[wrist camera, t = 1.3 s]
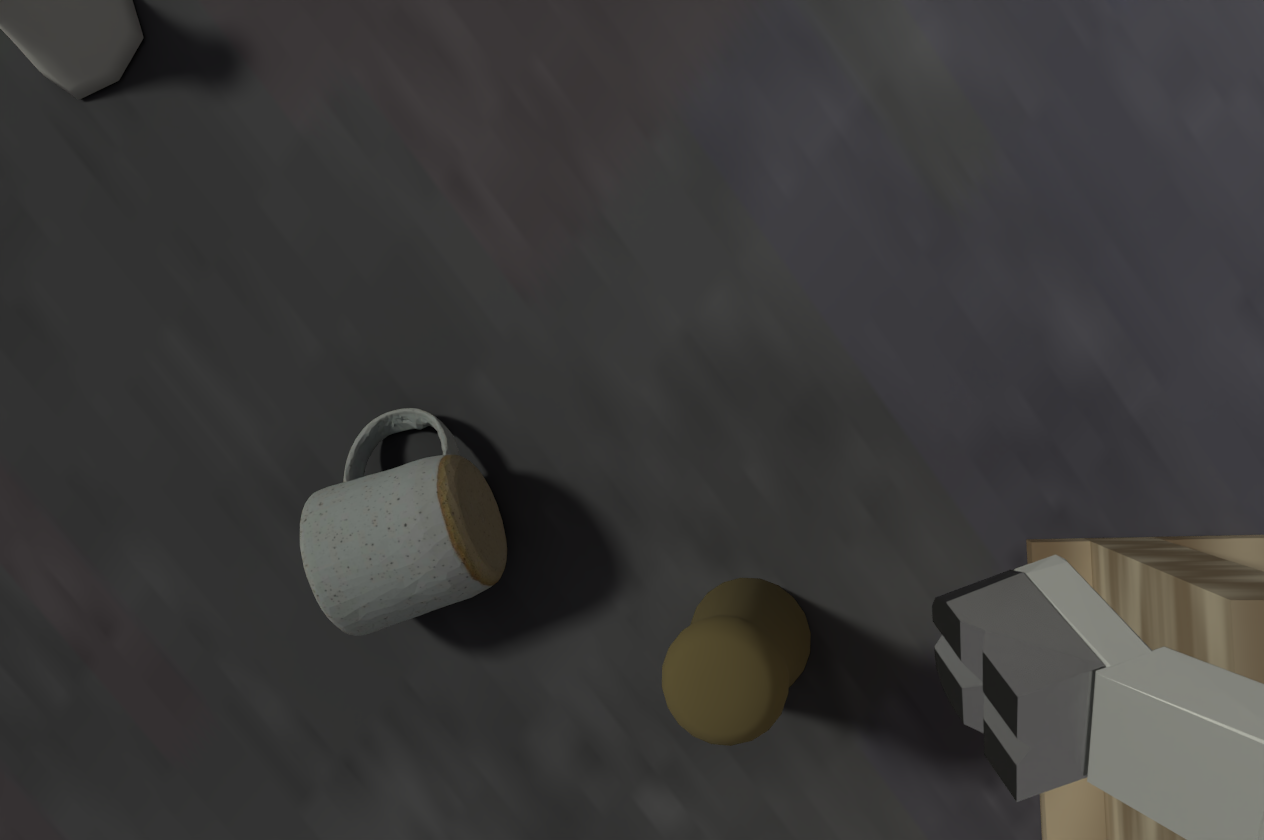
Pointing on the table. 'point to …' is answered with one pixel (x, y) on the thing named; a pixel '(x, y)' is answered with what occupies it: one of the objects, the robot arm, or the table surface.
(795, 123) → the table surface
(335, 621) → the ceramic mug
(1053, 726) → the robot arm
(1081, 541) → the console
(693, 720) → the cork
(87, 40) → the flask
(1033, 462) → the table surface
